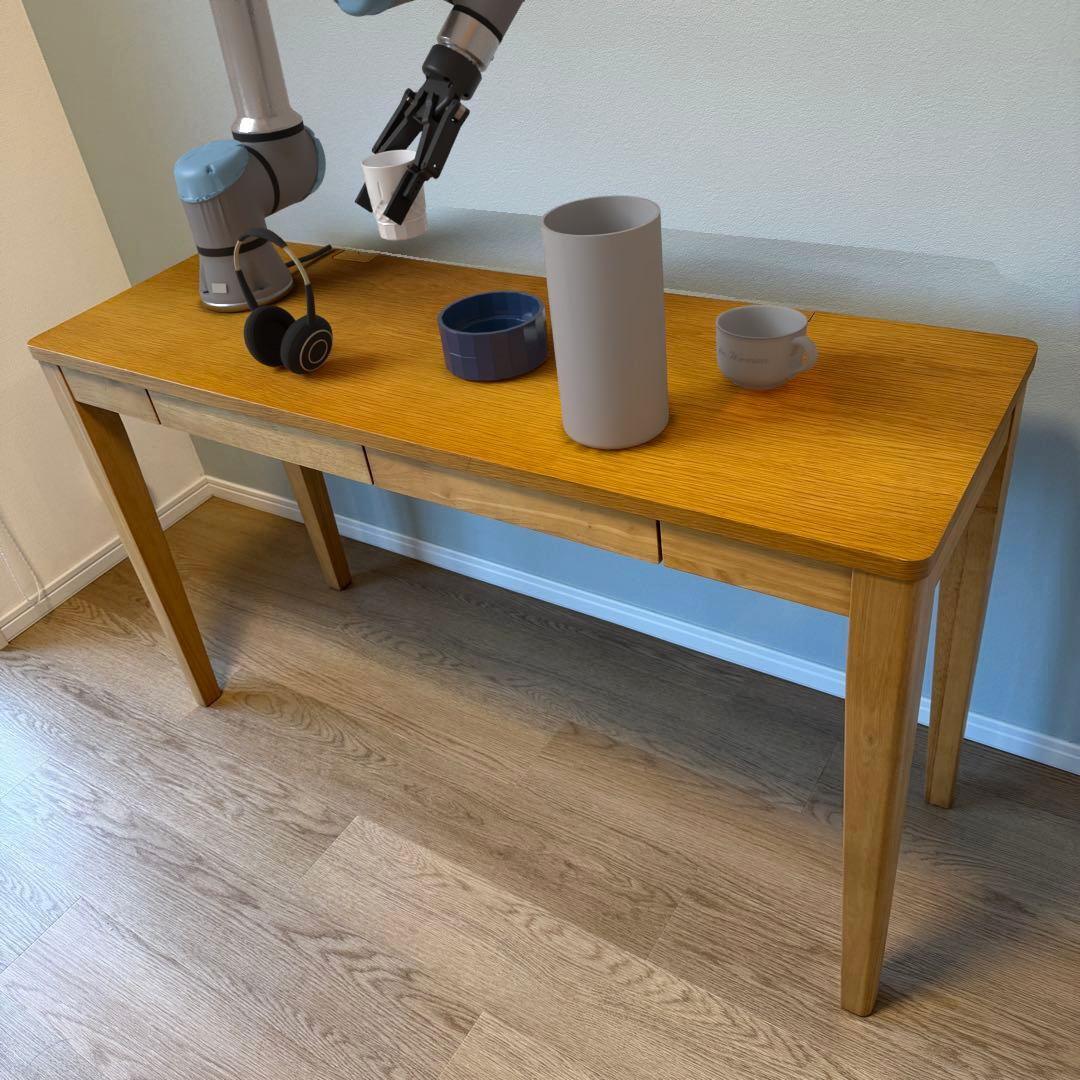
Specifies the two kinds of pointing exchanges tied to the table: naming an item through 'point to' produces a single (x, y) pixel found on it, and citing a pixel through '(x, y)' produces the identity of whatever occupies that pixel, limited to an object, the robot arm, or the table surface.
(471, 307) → the navy blue bowl
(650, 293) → the cylinder vase
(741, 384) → the teacup
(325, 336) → the headphones
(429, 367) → the table surface
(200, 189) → the robot arm
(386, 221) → the white cup
